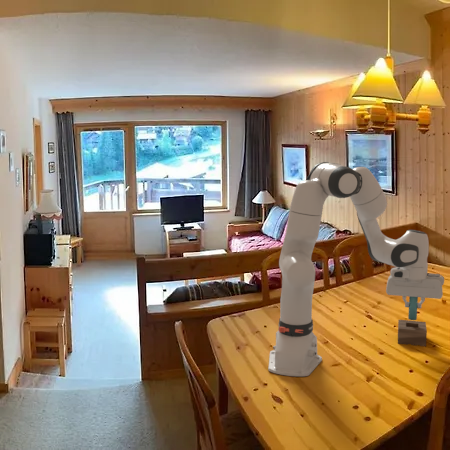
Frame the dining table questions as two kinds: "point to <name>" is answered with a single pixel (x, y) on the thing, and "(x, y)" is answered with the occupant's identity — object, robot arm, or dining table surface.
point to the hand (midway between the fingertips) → (413, 307)
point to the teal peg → (413, 308)
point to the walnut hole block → (412, 332)
